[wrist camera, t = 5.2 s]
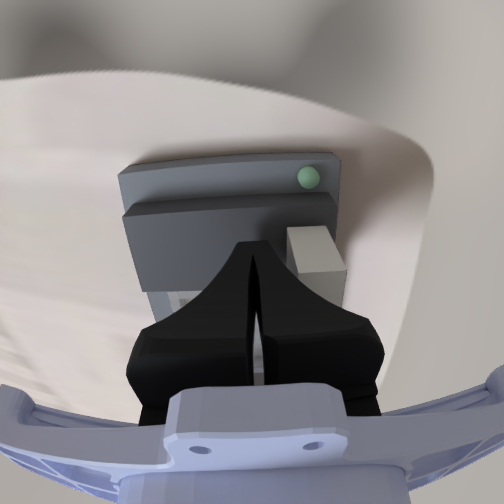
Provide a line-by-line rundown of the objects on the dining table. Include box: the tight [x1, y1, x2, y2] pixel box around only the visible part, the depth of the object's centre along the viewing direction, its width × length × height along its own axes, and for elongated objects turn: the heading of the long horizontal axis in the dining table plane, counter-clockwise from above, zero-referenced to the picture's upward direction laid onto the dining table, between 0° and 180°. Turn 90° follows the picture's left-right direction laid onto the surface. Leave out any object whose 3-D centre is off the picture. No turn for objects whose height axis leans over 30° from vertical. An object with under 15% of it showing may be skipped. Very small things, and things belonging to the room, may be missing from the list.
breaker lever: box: [287, 226, 347, 307], centre depth 12 cm, size 2×2×3 cm
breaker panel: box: [118, 152, 341, 386], centre depth 18 cm, size 20×10×3 cm, turn 3°
